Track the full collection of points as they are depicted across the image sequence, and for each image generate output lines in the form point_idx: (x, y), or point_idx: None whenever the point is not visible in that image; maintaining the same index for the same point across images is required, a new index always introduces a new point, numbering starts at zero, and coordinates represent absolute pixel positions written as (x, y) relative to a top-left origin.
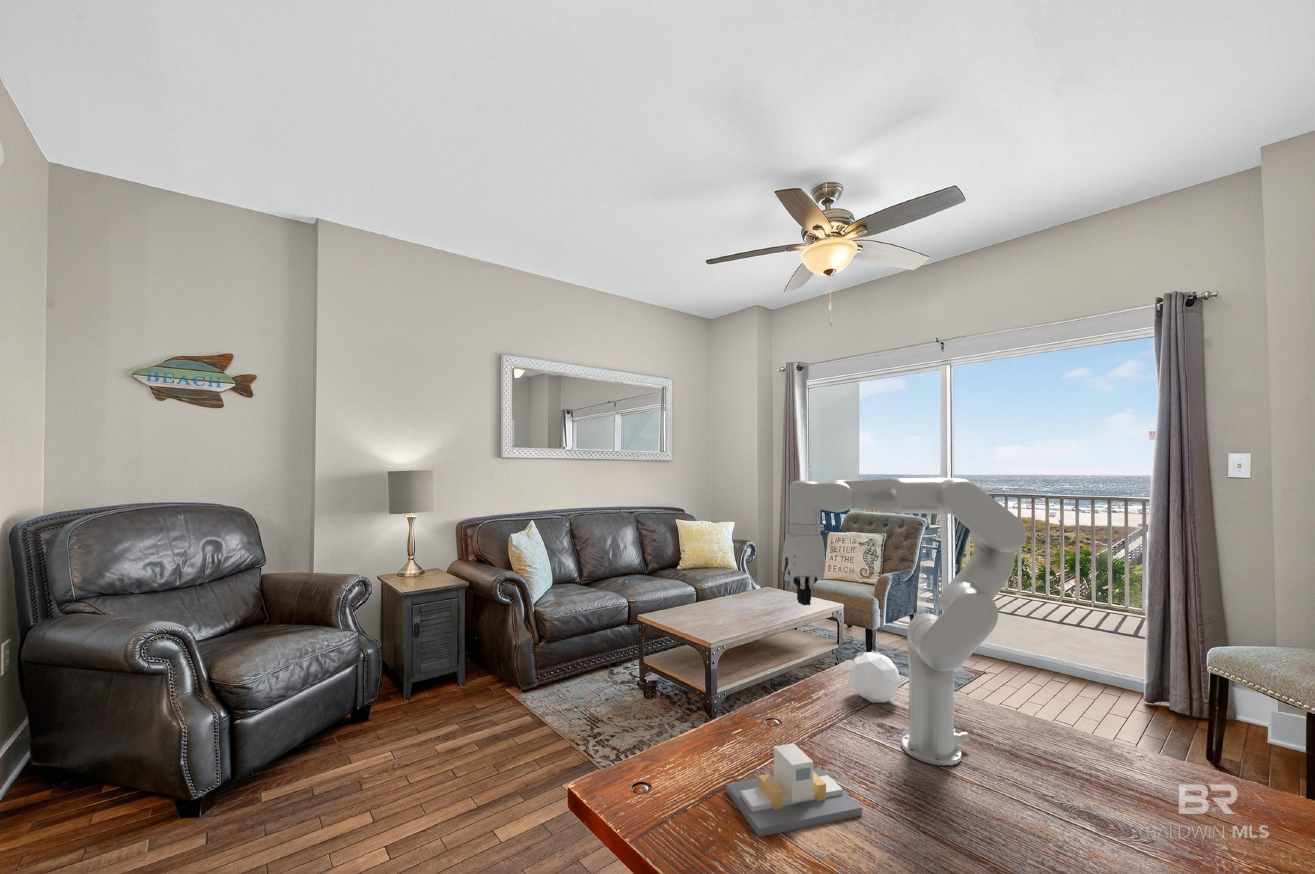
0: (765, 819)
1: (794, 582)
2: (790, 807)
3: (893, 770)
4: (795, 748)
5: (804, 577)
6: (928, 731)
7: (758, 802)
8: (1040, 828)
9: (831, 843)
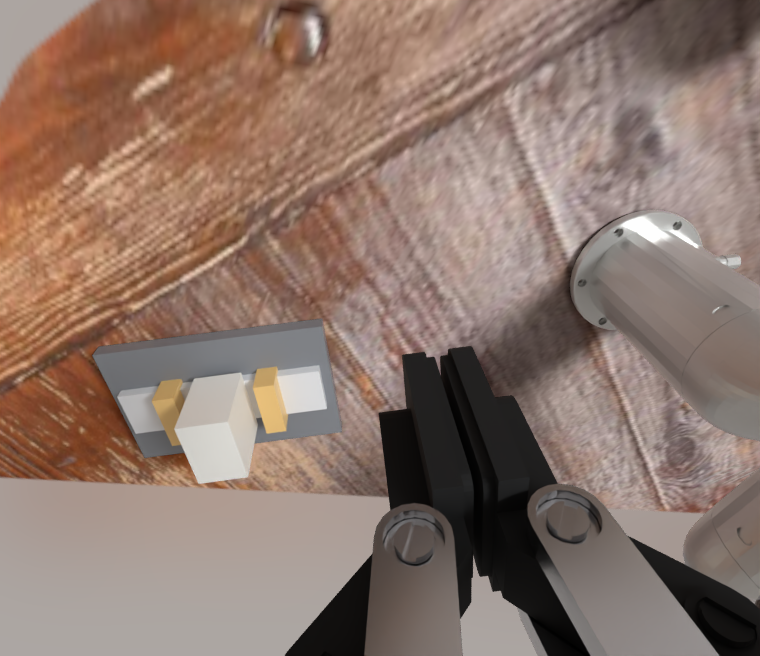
0: (160, 442)
1: (337, 626)
2: None
3: (489, 322)
4: (224, 439)
5: (592, 645)
6: (624, 336)
7: (149, 426)
8: (586, 461)
9: (262, 464)
